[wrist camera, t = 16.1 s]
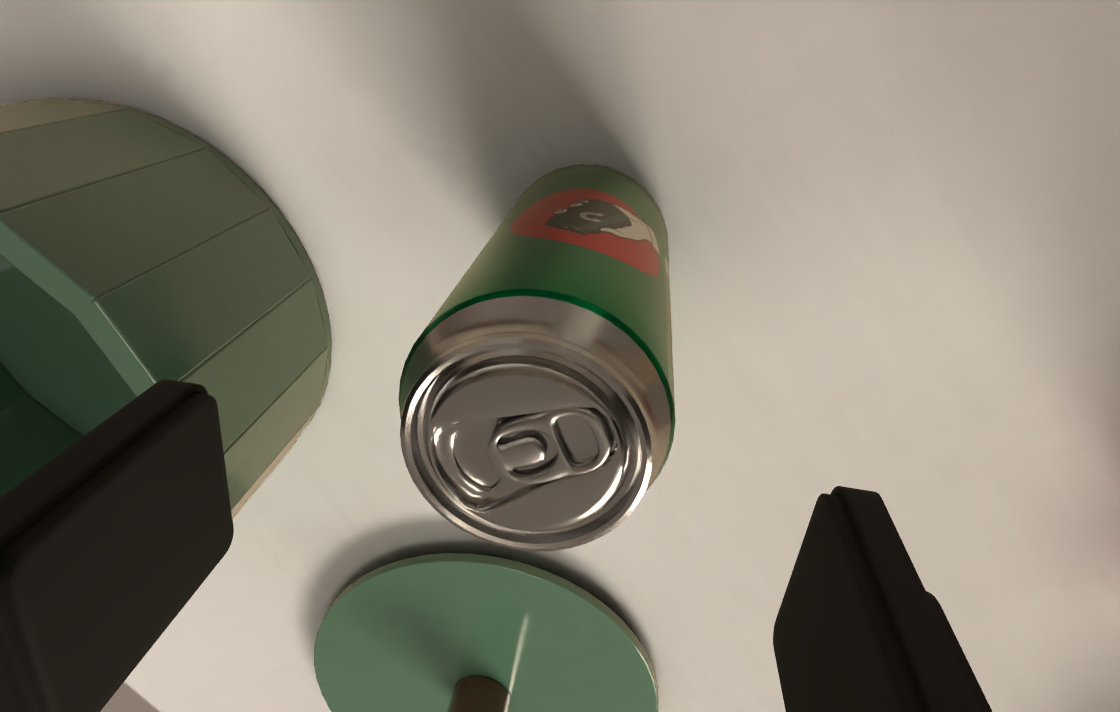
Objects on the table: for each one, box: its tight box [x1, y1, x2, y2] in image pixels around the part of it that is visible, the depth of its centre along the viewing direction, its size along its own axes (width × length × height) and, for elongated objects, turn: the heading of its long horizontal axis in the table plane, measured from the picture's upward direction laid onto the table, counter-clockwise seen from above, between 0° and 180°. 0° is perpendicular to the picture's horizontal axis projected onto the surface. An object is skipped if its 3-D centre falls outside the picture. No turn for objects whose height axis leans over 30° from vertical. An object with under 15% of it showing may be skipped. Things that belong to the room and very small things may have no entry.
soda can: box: [399, 164, 675, 551], centre depth 17 cm, size 5×5×12 cm
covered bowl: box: [0, 98, 331, 519], centre depth 22 cm, size 15×15×8 cm
